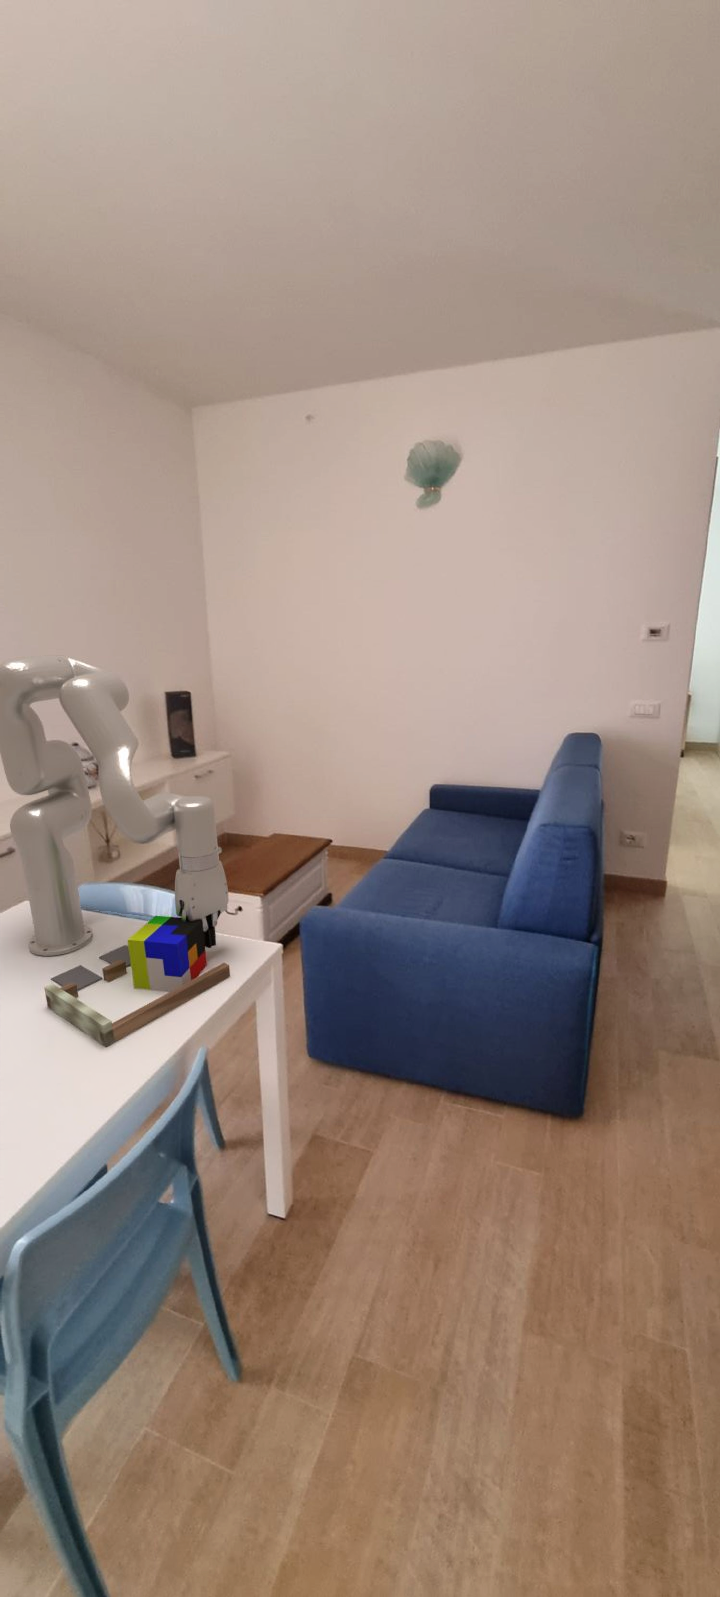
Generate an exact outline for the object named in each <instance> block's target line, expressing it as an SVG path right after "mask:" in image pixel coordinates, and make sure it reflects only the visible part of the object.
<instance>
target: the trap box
mask: <svg viewBox="0 0 720 1597" xmlns="http://www.w3.org/2000/svg"><path fill="white" fill-rule="evenodd" d="M101 969H102V975H103V980H104V981H105V982H107V983H110V982H112V981H114V980H116V979H118V978H120V977H122V976H124V975H126V974H127V973H128V970H127V968H126V962H125V961H123V960H119V961H117V962H114V963H112V964H108V965H106V966H104V967H102V968H101ZM230 977H231V972H230V964H228V963H227V962H226V963H225V962H223V963H220V964H219V965H216V966H214V967H213V968H211V969H210V970H208V971H205V972H204V973H202V974H201V975H200V974H199V975H198V976H197V977H196V978H195V979H193V980H191V981H189V982H187V983H185V984H184V985H182V986H180V987H178V988H176V989H174V990H173V991H171V992H167V993H165V994H164V995H162V996H160V997H157V998H156V999H155V1000H152V1001H150V1002H149V1003H147V1004H145V1005H143V1006H142V1007H140V1008H137V1009H136V1010H134V1011H132V1012H130V1013H128V1014H127V1015H125V1016H122V1017H121V1018H119V1019H117V1020H116V1021H113V1022H112V1020H111V1019H108V1017H106V1016H104V1015H103V1014H101V1013H99V1012H98V1011H97V1010H95V1009H94V1008H92V1007H90V1006H89V1005H87V1004H86V1003H84V1002H82V1001H80V1000H79V999H78V998H79V992H78V990H77V985H76V984H75V983H73V982H72V983H69V984H67V985H65V986H63V987H62V986H61V987H59V986H57V985H56V984H54V983H50V984H48V985H46V986H43V989H44V992H45V998H46V999H45V1000H46V1005H47V1006H46V1007H47V1008H49V1009H50V1010H52V1011H53V1012H55V1013H56V1014H58V1015H59V1016H60V1017H62V1018H63V1019H65V1020H67V1021H68V1022H69V1023H70V1024H72V1025H73V1026H75V1027H76V1028H77V1029H79V1030H81V1031H82V1032H84V1033H85V1034H86V1035H88V1036H89V1037H91V1038H92V1039H93V1040H95V1041H96V1042H98V1044H99V1043H100V1044H101V1045H103V1047H105V1048H107V1047H110V1046H111V1045H113V1044H114V1043H116V1042H118V1041H119V1040H122V1039H123V1038H125V1037H126V1036H128V1035H130V1034H132V1033H134V1032H136V1031H137V1030H140V1029H141V1028H143V1027H144V1026H146V1025H148V1024H150V1023H151V1022H153V1021H155V1020H156V1019H158V1018H160V1017H162V1016H164V1015H165V1014H167V1013H169V1012H171V1011H173V1010H174V1009H176V1008H178V1007H179V1006H181V1005H183V1004H186V1003H187V1002H188V1001H190V1000H192V999H193V998H195V997H197V996H198V995H201V994H202V993H204V992H206V991H207V990H209V989H211V988H213V987H215V986H216V985H218V984H220V983H221V982H223V981H225V980H227V979H229V978H230Z"/></svg>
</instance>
